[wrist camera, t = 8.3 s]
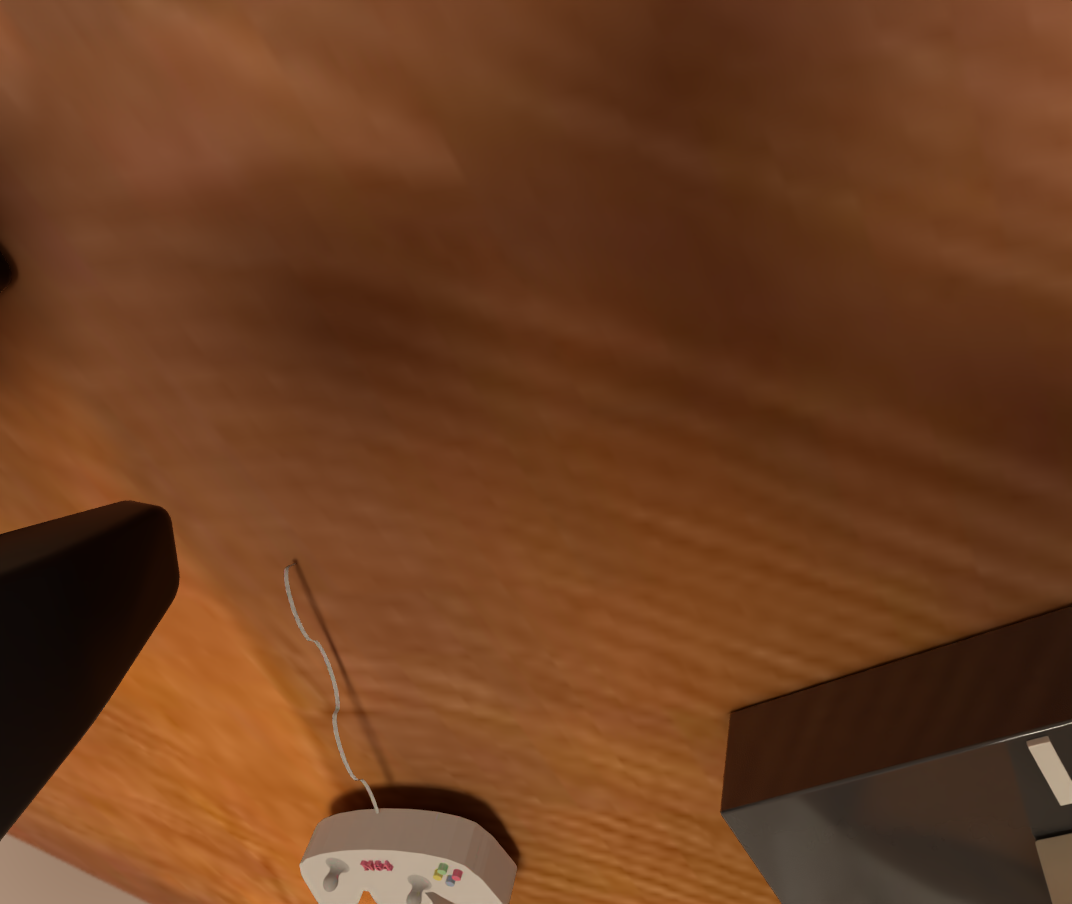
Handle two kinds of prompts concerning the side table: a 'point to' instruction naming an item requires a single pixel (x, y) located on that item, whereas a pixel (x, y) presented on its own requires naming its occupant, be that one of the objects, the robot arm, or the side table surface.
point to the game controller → (401, 850)
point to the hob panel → (912, 775)
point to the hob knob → (1057, 866)
